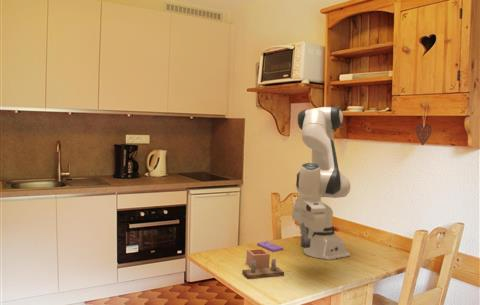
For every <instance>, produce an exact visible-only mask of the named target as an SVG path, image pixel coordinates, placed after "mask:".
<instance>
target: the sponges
mask: <svg viewBox="0 0 480 305" xmlns="http://www.w3.org/2000/svg"><path fill="white" fill-rule="evenodd" d="M256 245H257V246H258V247H260V248H261V249H264V250H267V251H270V252H271V253H275V252H276V253H277V252H280V251H284V247H283V246H280V245H277V244H276V243H273V242H271V241H268V240H265V241H264V240H263V241H261V242H257V243H256Z"/></svg>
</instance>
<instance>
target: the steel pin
mask: <svg viewBox="0 0 480 305" xmlns="http://www.w3.org/2000/svg"><path fill="white" fill-rule="evenodd" d="M308 233H309V231H308V228H307V227H305V226H304V223H302V231H301V234H300V247H301V248H303V249H305V248H310V245H311V239H308V238H307V234H308Z"/></svg>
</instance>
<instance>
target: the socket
mask: <svg viewBox="0 0 480 305" xmlns="http://www.w3.org/2000/svg"><path fill="white" fill-rule="evenodd" d="M270 257H271V254H270V253H269V252H268V251H266V249H265V248H254V249H253V248H251V249H246V258H245V259H246V265H247V266H249V267H250V268H251V262H252V260H255V261H256V269H260V268H270V261H271V260H270V259H271V258H270Z"/></svg>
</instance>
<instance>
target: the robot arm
mask: <svg viewBox="0 0 480 305" xmlns="http://www.w3.org/2000/svg"><path fill="white" fill-rule="evenodd" d="M297 114H298V115H297V119H296V120H297V125H298V127H299V129H300V130H301V139H302V142H303V144H304V145H305V146H306V147H307V148H309V149H310V150H311V162H305V163H303V164H301V167H300V170H299V172H297V173H296V181H295V187H296V190H297V199H296V200H295V202H294V203H293V207H292V211H291V212H292V214H291V217H292V220H293V221H295V222H296V223H297V224H298V226H299V229H300V231H299V234H300V235H301V231H302V223H304V226H305V227H307V228H308V231H309V233H308V234H307V238H308V239H311V245H310V248H303V249H304V250H303V253H304V254H305V255H306V256H309V257H312V258H317V259H322V260H327V261H330V260H335V259H336V258H337V259H342V258H347V256H348V257H351V253H350V252H349V250H346V243H345V241H344V240H343V239H341V237H340V236H338V234H336V233H338V232H339V231H340V228H339V227H337V226H333V216H334V214H333V210H332V208H331V207H330V206H329V205H328V204H326V203H323V202H322V200H321V199H322V198H333V199H336V198H337V199H339V198H344V197H347V196H348V195H349V193H350V191H351V182H350V180H349V178H348V177H346V176H345V175H344V174H343V173H342V172H341V171H340V170H339V165H338V158H337V152H336V147H335V137H334V133H335V132H337V130H338V129H339V128H340V127H341V125H342V124H343V120H344V116H343V112H342V110H341V108H340V107H338V106H334V105H332V106H323V107H322V106H321V107H316V108H315V107H314V108H310V109H309V108H308V109H303V110H301V111H300V112H299V113H297ZM333 132H334V133H333ZM341 257H342V258H341ZM337 259H336V260H337Z"/></svg>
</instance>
